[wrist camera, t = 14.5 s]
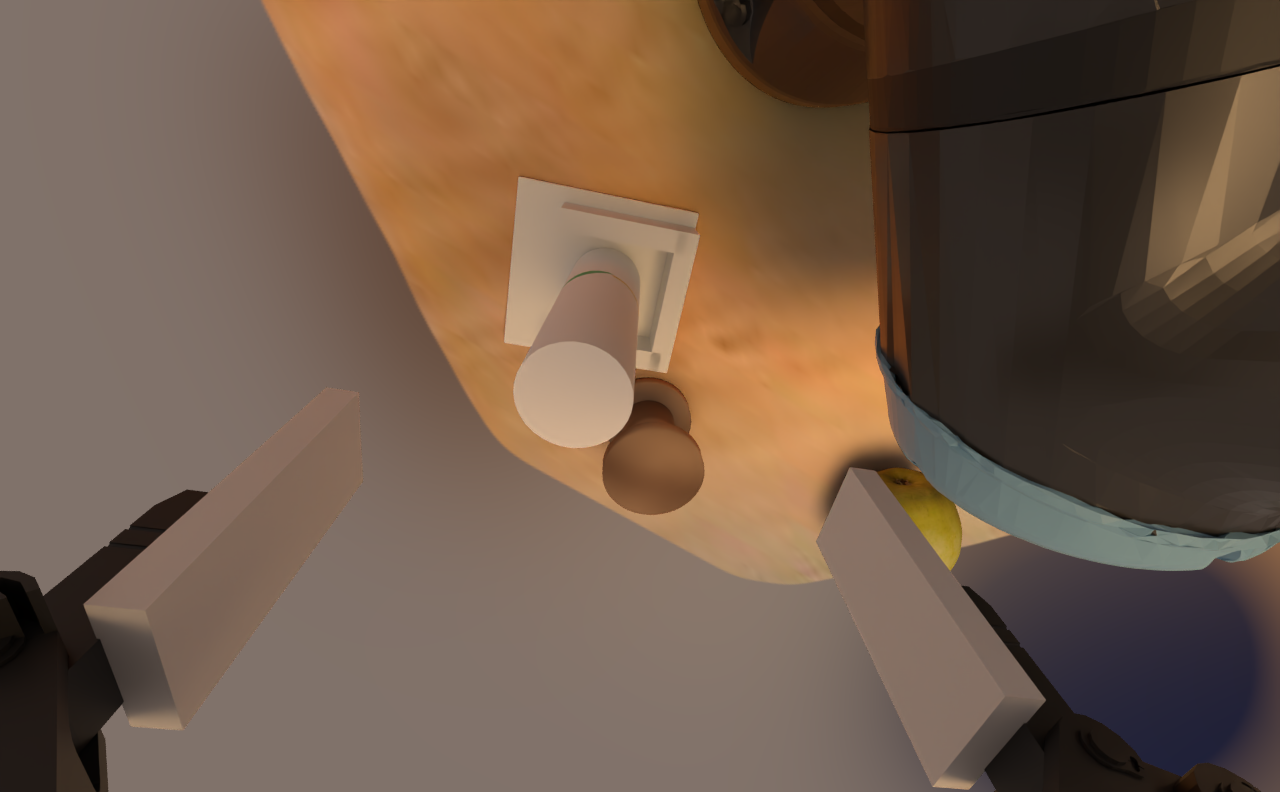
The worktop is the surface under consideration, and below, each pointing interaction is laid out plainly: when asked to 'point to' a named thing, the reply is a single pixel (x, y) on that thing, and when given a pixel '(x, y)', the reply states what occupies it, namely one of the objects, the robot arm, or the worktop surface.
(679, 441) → the wooden cabinet knob
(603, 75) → the worktop surface
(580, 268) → the tube
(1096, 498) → the robot arm
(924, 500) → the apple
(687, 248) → the notch board
